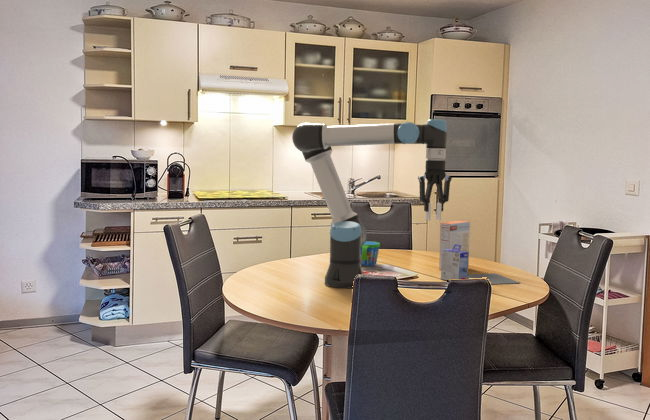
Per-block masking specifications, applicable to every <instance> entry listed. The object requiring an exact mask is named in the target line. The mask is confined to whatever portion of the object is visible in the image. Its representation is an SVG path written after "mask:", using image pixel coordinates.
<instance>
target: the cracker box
mask: <svg viewBox="0 0 650 420" xmlns="http://www.w3.org/2000/svg"><path fill="white" fill-rule="evenodd" d="M470 228H471V222H470V221H468V220H467V221H466V220H453V221H445V222H443V221H442V222H440V225H439V234H440V235H439V238H440V239H439V267H438V268H439V270H440V271H441V263H442V250H444V249H453V247H454V245H455V244H457V245H462V246H461V248H460V251H465V252H469V253H470V234H471V233H470V232H471V231H470ZM455 248H459V247H458V246H455ZM469 259H470V257H468V266H469V262H470V261H469Z"/></svg>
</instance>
